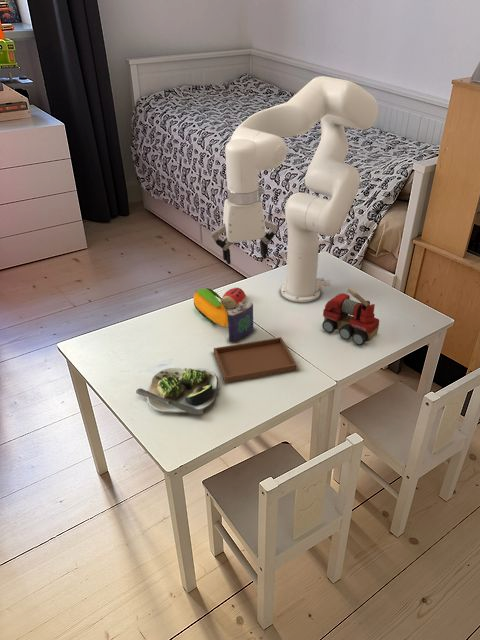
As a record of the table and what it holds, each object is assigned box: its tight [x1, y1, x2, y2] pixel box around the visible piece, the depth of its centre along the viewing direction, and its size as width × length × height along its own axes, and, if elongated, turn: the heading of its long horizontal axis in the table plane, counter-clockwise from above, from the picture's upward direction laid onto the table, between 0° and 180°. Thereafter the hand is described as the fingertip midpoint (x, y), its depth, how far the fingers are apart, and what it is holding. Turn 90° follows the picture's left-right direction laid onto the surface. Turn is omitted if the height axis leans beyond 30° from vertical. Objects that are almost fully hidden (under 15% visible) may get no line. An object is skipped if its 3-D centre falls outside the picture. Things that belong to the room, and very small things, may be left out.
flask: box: [227, 301, 255, 344], centre depth 150 cm, size 9×3×11 cm, turn 140°
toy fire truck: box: [321, 287, 380, 347], centre depth 150 cm, size 11×16×18 cm
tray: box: [213, 336, 298, 384], centre depth 143 cm, size 19×13×2 cm
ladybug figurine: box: [220, 287, 247, 309], centre depth 166 cm, size 7×10×4 cm
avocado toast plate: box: [135, 367, 219, 416], centre depth 131 cm, size 19×18×5 cm
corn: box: [193, 287, 229, 328], centre depth 157 cm, size 7×8×20 cm
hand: (245, 259), depth 142 cm, fingers open, 9 cm apart
